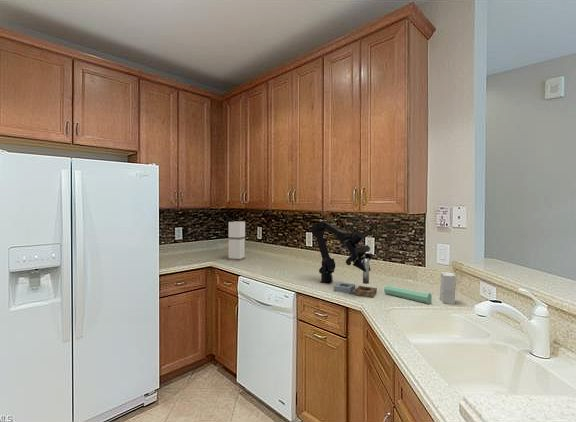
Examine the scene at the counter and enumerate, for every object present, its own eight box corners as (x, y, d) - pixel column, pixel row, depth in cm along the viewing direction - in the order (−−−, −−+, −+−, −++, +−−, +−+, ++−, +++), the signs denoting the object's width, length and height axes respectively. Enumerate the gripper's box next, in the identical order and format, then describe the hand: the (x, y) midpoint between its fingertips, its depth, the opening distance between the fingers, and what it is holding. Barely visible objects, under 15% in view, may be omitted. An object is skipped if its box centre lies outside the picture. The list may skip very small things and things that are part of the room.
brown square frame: (354, 295, 168) (354, 290, 168) (359, 290, 177) (359, 285, 177) (372, 297, 163) (372, 292, 163) (376, 293, 172) (376, 288, 172)
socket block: (333, 291, 176) (333, 286, 176) (339, 287, 184) (339, 282, 184) (350, 293, 171) (350, 288, 171) (355, 289, 180) (355, 284, 180)
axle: (362, 283, 169) (362, 258, 169) (363, 282, 172) (363, 257, 172) (368, 284, 167) (368, 259, 167) (369, 282, 170) (369, 258, 170)
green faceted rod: (383, 283, 172) (428, 291, 153) (388, 285, 175) (432, 294, 157) (381, 293, 170) (426, 303, 152) (386, 295, 174) (430, 305, 155)
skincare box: (439, 298, 163) (439, 271, 162) (451, 299, 161) (452, 272, 161) (442, 303, 155) (443, 274, 154) (455, 304, 153) (456, 275, 153)
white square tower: (245, 259, 278) (245, 221, 278) (239, 261, 268) (239, 222, 267) (234, 258, 282) (234, 221, 281) (228, 260, 272) (228, 221, 271)
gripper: (349, 241, 167) (365, 264, 158) (371, 239, 178) (386, 260, 169) (339, 253, 173) (353, 276, 165) (360, 251, 184) (375, 272, 176)
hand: (367, 271), depth 168 cm, fingers closed on axle, 3 cm apart
